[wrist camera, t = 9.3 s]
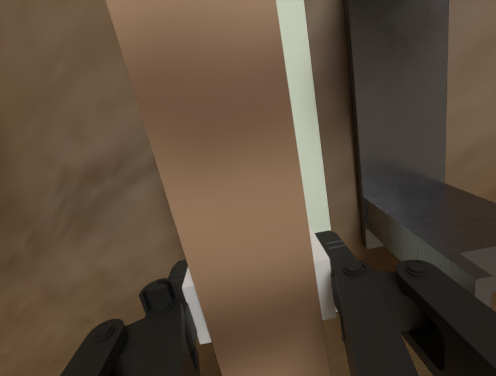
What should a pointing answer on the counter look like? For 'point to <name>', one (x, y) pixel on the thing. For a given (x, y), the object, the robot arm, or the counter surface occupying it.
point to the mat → (304, 110)
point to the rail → (230, 174)
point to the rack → (412, 143)
